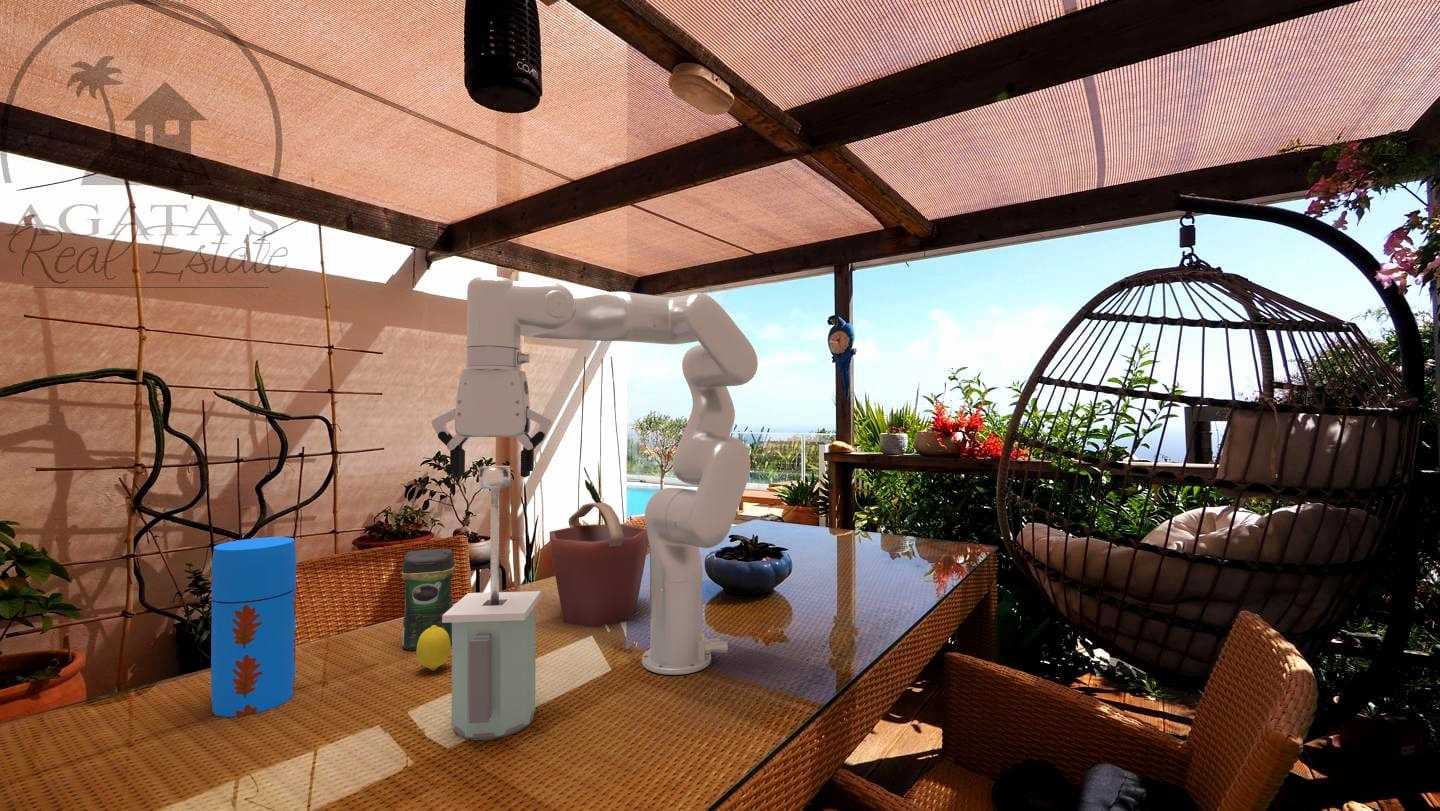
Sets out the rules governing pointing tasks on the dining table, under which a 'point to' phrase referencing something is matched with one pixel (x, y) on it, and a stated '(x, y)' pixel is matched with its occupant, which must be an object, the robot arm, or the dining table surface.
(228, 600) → the thermos
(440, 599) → the coffee jar
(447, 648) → the lemon
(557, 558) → the bucket
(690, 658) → the robot arm
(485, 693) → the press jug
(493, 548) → the plunger
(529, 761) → the dining table surface
